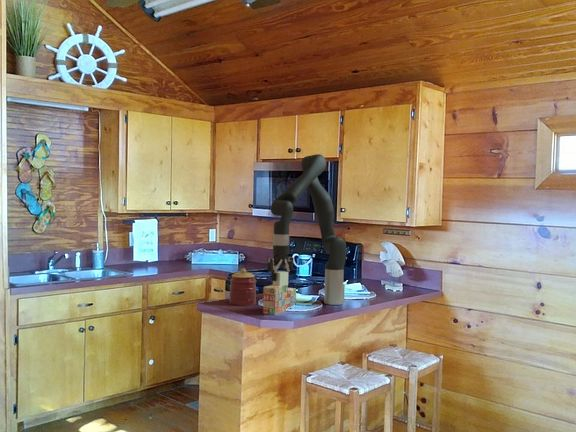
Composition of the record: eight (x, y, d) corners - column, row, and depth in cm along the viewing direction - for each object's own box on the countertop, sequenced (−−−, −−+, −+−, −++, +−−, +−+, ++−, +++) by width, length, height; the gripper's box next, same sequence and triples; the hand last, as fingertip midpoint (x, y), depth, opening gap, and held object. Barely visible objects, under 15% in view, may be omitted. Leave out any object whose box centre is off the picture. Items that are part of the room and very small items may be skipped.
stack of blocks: (284, 306, 267) (285, 280, 267) (296, 307, 264) (296, 282, 264) (262, 313, 248) (263, 286, 247) (274, 315, 245) (275, 287, 245)
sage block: (281, 283, 257) (281, 270, 257) (288, 285, 253) (288, 272, 253) (272, 284, 254) (273, 271, 254) (279, 286, 250) (280, 272, 250)
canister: (236, 301, 276) (237, 266, 275) (260, 303, 271) (261, 267, 271) (224, 305, 264) (225, 268, 263) (248, 308, 259) (249, 270, 259)
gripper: (287, 243, 261) (286, 278, 261) (263, 244, 251) (262, 280, 252) (298, 244, 255) (297, 280, 255) (274, 245, 246) (273, 282, 246)
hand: (280, 280), depth 253 cm, fingers open, 6 cm apart
